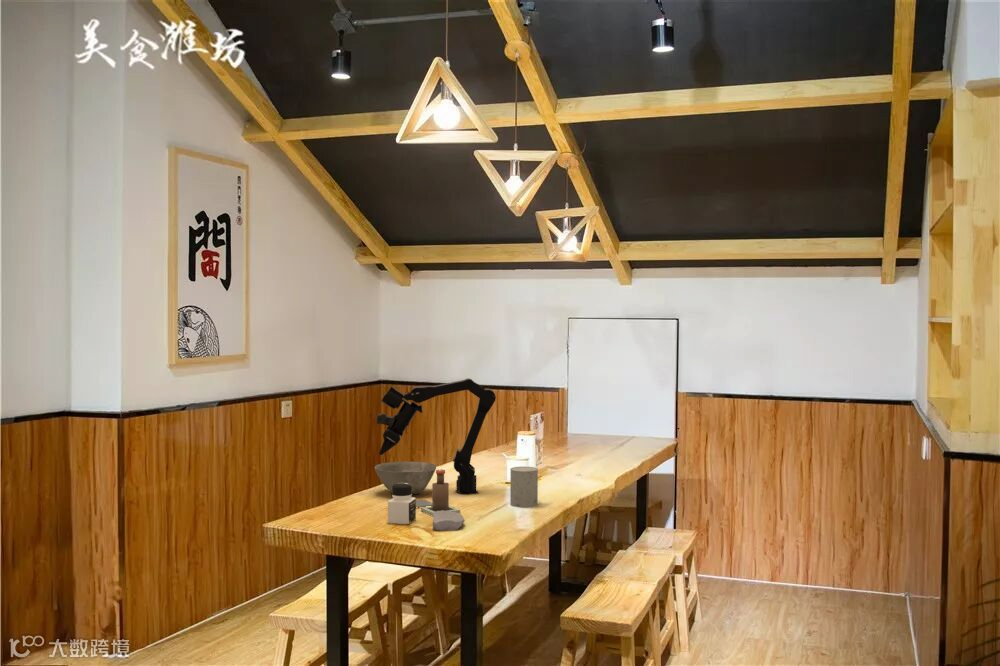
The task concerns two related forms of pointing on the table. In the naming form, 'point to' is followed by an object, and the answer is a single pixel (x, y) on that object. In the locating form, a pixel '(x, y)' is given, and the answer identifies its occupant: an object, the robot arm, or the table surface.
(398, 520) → the medicine bottle
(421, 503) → the slate pad
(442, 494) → the sauce bottle
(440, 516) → the stone block
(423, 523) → the table surface
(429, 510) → the pocket frame
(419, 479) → the ceramic bowl
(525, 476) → the grey matte cylinder
